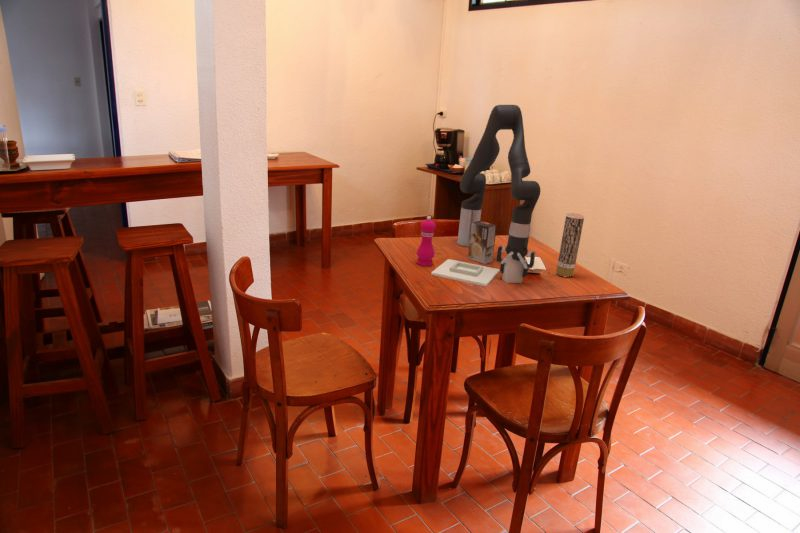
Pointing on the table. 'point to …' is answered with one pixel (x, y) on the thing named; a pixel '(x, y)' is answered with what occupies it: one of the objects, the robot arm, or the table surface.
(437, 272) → the white switch plate
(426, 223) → the pepper mill
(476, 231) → the coffee box
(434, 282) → the table surface
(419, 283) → the table surface
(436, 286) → the table surface
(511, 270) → the white tea box
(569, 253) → the paper tube
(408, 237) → the table surface
